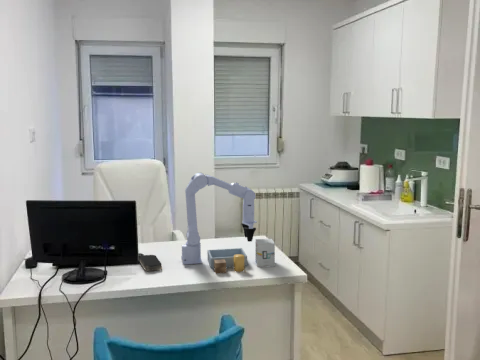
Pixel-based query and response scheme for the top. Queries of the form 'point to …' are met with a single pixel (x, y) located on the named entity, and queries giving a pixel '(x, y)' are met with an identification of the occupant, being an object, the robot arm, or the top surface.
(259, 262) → the ink box
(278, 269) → the top surface
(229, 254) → the tote
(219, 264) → the walnut cube
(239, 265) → the tan rounded piece
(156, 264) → the black sponge
